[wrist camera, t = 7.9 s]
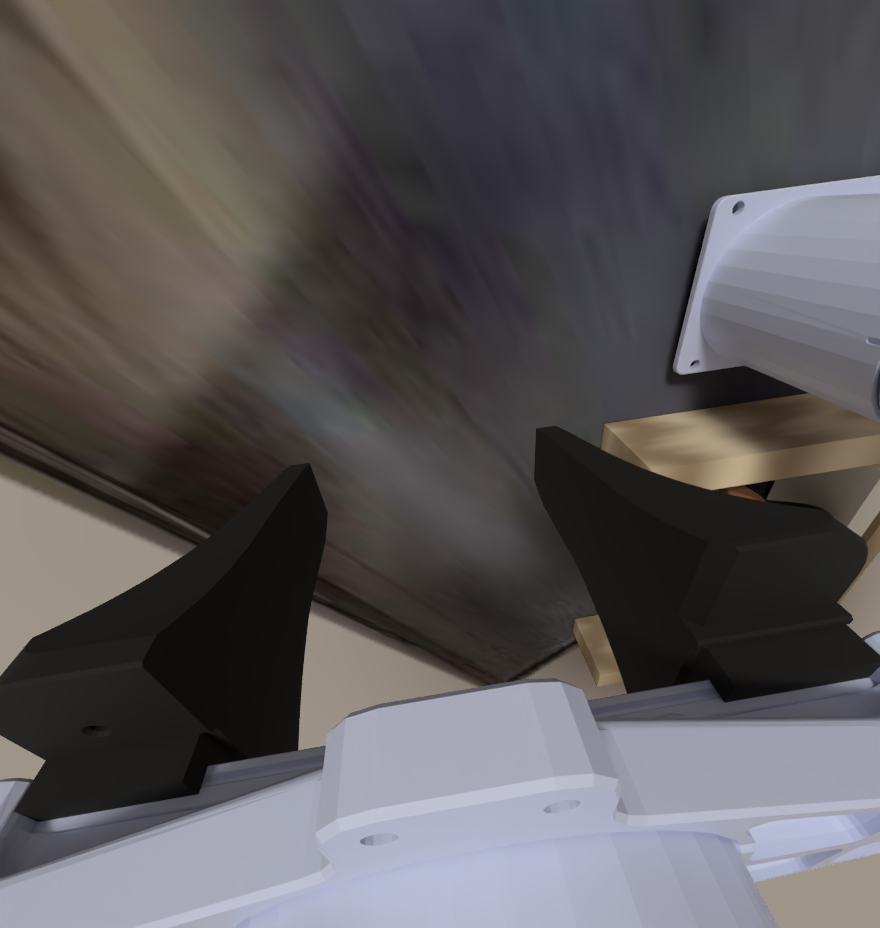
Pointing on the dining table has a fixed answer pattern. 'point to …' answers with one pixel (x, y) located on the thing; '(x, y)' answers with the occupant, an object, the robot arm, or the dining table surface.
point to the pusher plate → (836, 494)
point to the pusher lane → (737, 465)
